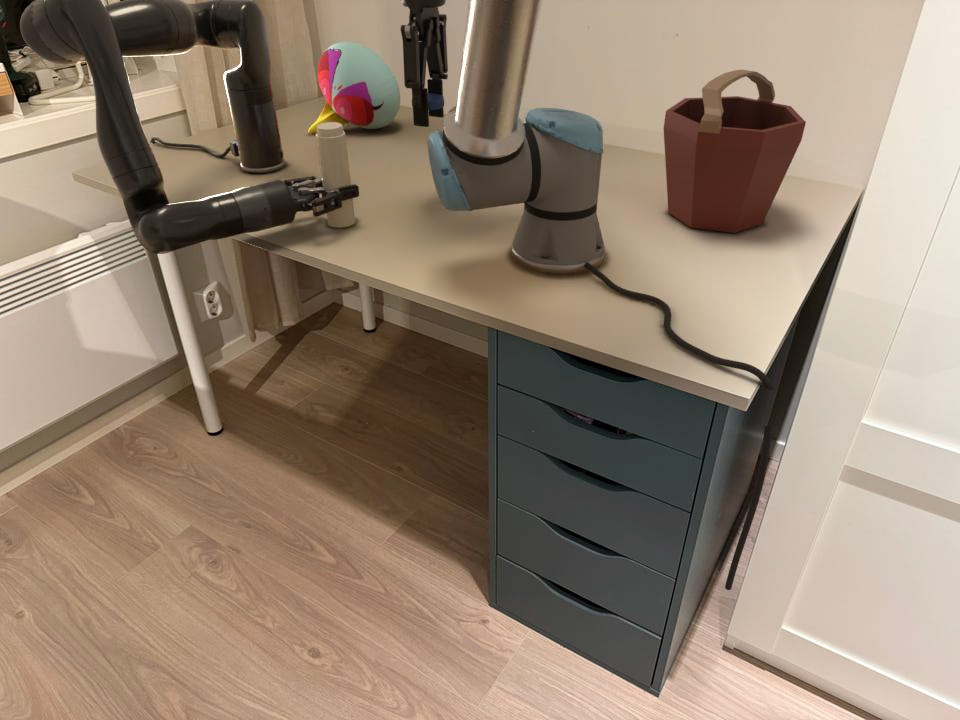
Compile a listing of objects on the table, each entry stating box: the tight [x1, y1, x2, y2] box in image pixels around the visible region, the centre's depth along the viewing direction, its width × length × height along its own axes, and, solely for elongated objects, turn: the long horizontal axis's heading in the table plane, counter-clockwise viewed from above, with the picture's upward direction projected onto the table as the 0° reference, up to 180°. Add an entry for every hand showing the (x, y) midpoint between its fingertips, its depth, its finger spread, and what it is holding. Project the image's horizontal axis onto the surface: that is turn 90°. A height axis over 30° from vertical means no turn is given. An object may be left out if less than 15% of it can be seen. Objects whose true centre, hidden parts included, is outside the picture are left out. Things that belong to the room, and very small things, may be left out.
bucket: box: [663, 69, 807, 234], centre depth 125 cm, size 24×22×25 cm
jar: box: [315, 122, 356, 229], centre depth 125 cm, size 5×5×18 cm
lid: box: [411, 93, 445, 111], centre depth 128 cm, size 6×6×2 cm
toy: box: [307, 41, 401, 134], centre depth 176 cm, size 24×24×20 cm
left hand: (350, 185), depth 128 cm, fingers closed on jar, 5 cm apart
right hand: (429, 120), depth 130 cm, fingers closed on lid, 6 cm apart
